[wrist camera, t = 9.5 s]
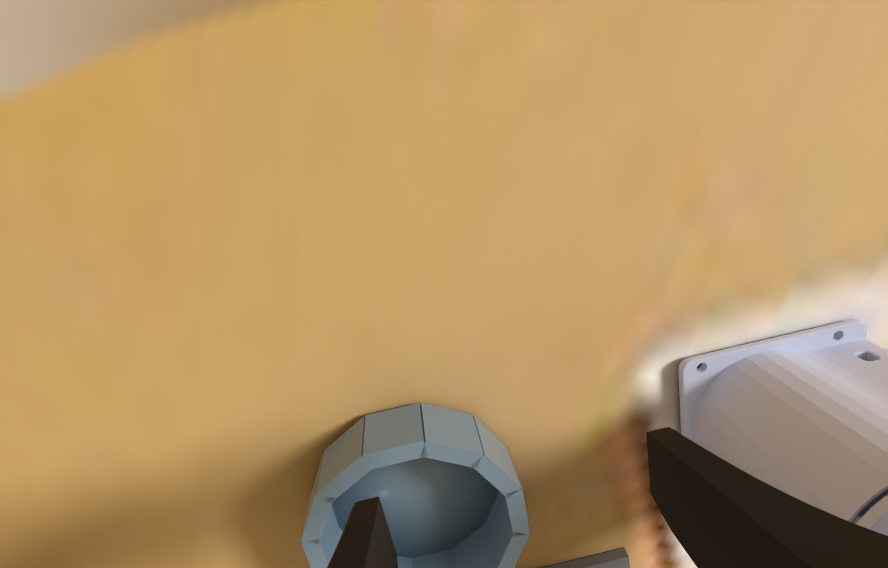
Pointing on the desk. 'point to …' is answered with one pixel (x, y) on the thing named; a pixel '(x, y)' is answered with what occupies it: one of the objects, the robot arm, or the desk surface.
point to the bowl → (422, 490)
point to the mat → (599, 561)
